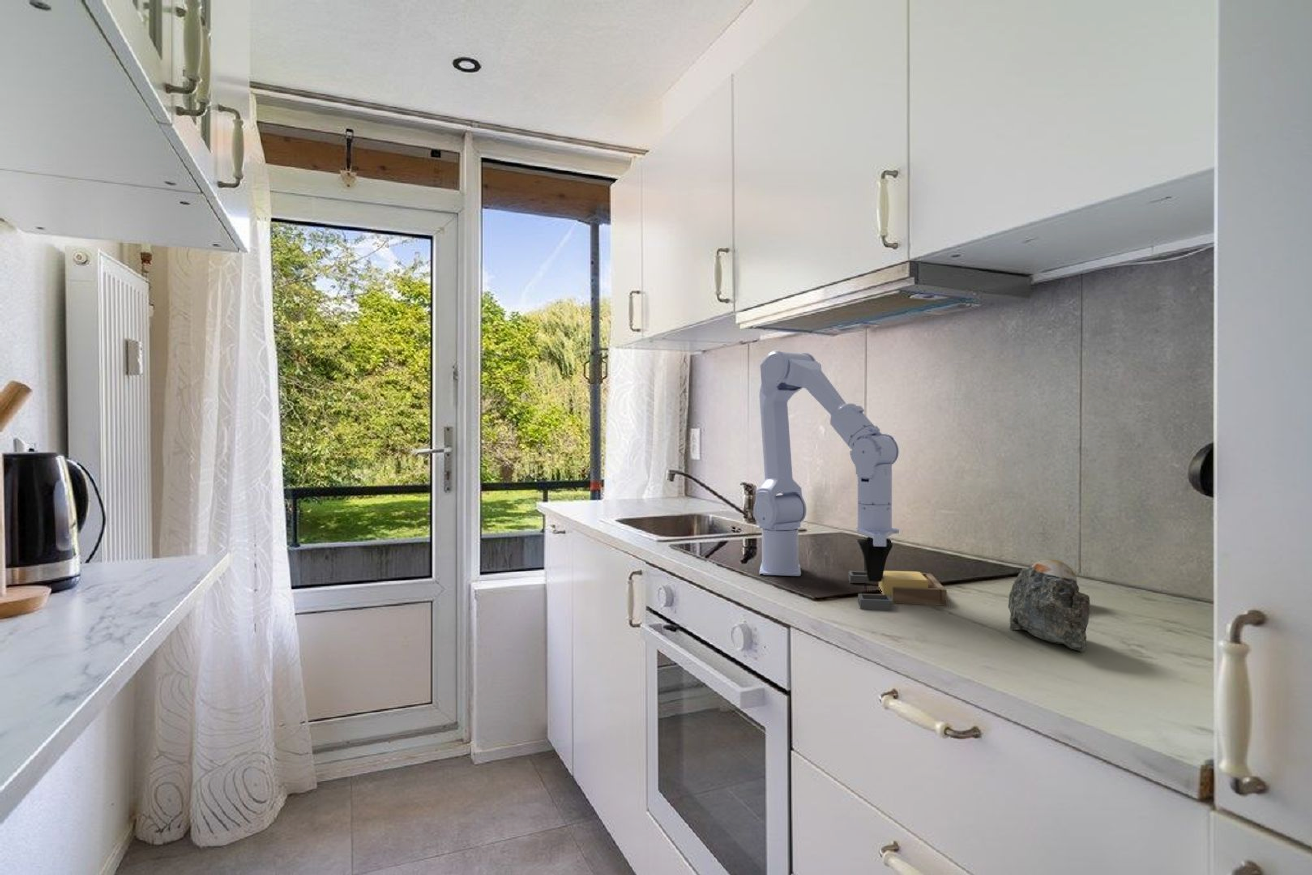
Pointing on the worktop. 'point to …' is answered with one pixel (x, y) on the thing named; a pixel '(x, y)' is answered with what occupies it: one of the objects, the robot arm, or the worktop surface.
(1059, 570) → the cream rounded piece
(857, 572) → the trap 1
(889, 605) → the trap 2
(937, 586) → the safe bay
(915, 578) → the block
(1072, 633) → the rock
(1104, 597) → the worktop surface
